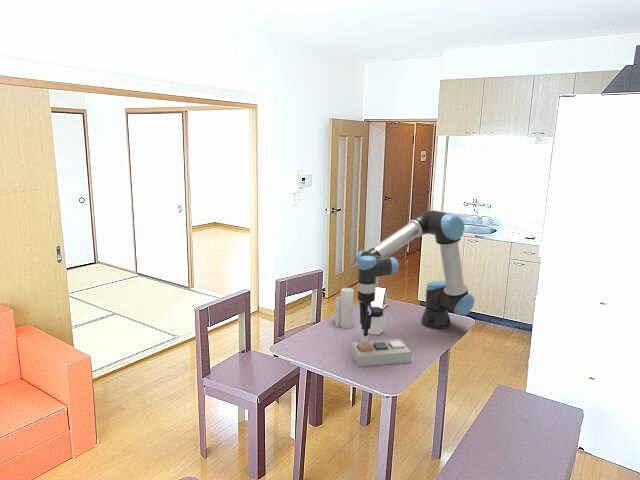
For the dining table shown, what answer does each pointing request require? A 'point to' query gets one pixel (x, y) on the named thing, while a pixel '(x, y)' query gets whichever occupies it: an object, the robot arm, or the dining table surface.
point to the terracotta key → (364, 346)
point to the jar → (376, 321)
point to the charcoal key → (380, 346)
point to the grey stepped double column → (344, 308)
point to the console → (381, 354)
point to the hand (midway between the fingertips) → (364, 341)
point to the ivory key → (396, 345)
